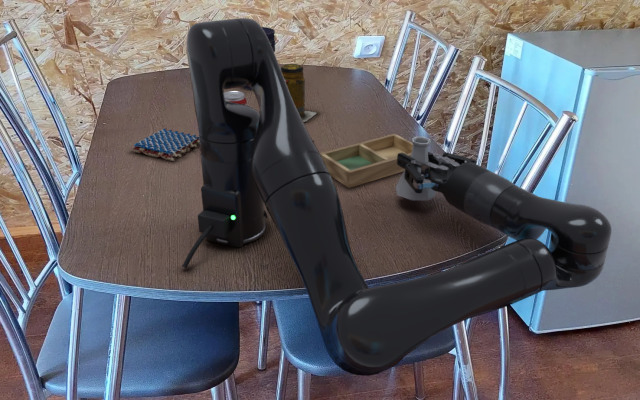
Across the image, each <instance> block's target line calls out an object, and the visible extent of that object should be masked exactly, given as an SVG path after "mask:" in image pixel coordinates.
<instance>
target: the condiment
mask: <svg viewBox="0 0 640 400" xmlns="http://www.w3.org/2000/svg"><path fill="white" fill-rule="evenodd" d="M280 69H281V72H282V74H283V77H284V80H285V82H286V85H287V87H288V90H289V92H290V95H291V97H292V99H293V102H294V104H295V106H296V108H297V110H298V112H299V114H300V117H301V119H302V121H303V123H306V122H307V121H309V120H310V119H311V118H313V117H314V116H315V115H316V114H317V112H315V111H310V110H306V109H305V108H306V107H305V106H306V104H305V103H306V99H305V98H306V95H305V94H306V93H305V92H306V89H305V88H306V83H305V82H306V79H305V76H304V67H303V66H302V65H301V64H296V63H287V64H283V65H282V66H281V67H280Z"/></svg>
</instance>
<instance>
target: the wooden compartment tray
mask: <svg viewBox="0 0 640 400" xmlns="http://www.w3.org/2000/svg"><path fill="white" fill-rule="evenodd" d="M412 149H413V143H412V141H410V140H408V139H407V138H404V137H402V136H400V135H398V134H397V133H392V134H388V135H384V136H380V137H377V138H371V139H369V140H365V141H361V142H358V143H353V144H349V145H346V146H341V147H338V148H335V149H330V150H326V151H323V152H319V153H320V155H321V157H322V159H323V161H324V163H325V165H326V167H327V169H328V171H329V173H330V175H331V177H332V179H333V180H336V181H337V182H339V183H340V184H342V185H343V186H345V187H346V188H347V189H352V188H354V187H358V186H361V185H365V184H368V183H370V182H373V181H377V180H380V179H384V178H386V177H389V176H393V175H396V174H399V173H403V172H404V170H405V169H404V168H402V167H400V166H398V165H397V156H398V154H399V153H404V154H406V155H408V156H411V153H412Z"/></svg>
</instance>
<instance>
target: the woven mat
mask: <svg viewBox="0 0 640 400" xmlns="http://www.w3.org/2000/svg"><path fill="white" fill-rule="evenodd" d="M198 145H200V142H199V136H197V135H196V134H193V135H191V133H185V132H182V131H181V132H179V131H178V130H175V131H173V129H169V130H168V129H167V128H163V129H161V130H157V132H154V133H153V134H151V135H148V137H144V138H143V139H142V140H139V141H137V142H135V143H134V146H133V148H132V149H133V152H134V153H138V154H141V153H142V154H144V155H146V156H149V157H153V158H162V159H163V160H166V161H170V162H175V159H176V158H177V157H178V158H182V155H183V154H186V153H187V152H190V151H191V148H195V149H197V147H198Z"/></svg>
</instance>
